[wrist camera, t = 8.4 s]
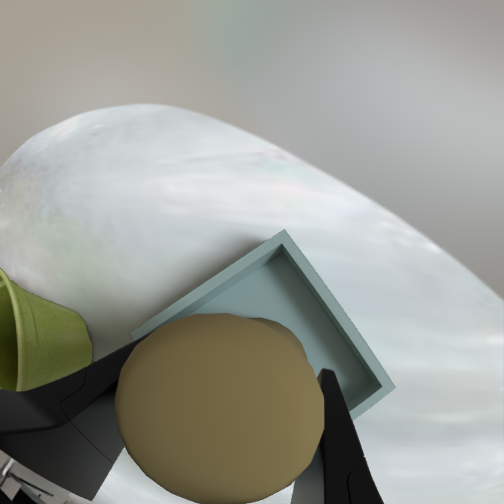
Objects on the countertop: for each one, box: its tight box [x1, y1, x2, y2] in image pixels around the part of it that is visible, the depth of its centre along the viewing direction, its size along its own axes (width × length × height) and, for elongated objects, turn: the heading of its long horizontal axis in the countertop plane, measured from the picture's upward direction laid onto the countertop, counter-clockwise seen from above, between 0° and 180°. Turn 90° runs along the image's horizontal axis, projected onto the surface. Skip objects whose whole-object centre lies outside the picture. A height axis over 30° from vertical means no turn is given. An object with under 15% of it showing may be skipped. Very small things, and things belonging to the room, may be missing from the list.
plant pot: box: [0, 268, 93, 391], centre depth 14 cm, size 9×9×9 cm
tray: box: [129, 229, 396, 421], centre depth 15 cm, size 11×11×2 cm
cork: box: [114, 313, 324, 504], centre depth 10 cm, size 6×6×11 cm
